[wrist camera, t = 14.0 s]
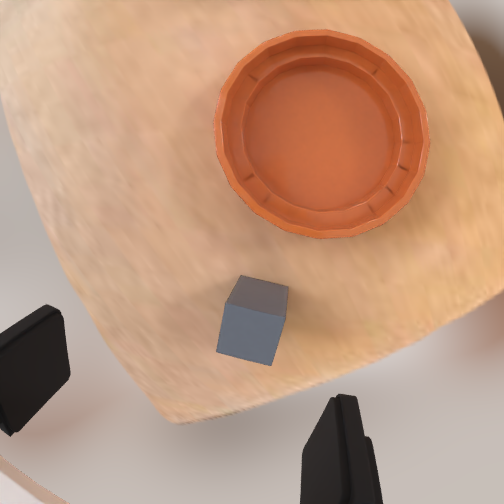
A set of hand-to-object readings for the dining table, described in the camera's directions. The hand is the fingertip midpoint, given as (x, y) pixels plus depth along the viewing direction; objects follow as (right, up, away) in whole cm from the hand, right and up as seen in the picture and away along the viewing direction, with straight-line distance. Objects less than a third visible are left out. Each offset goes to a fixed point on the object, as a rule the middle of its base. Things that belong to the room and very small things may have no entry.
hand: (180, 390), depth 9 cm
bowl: (+8, +14, +16) cm, 23 cm away
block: (+3, 0, +20) cm, 20 cm away
